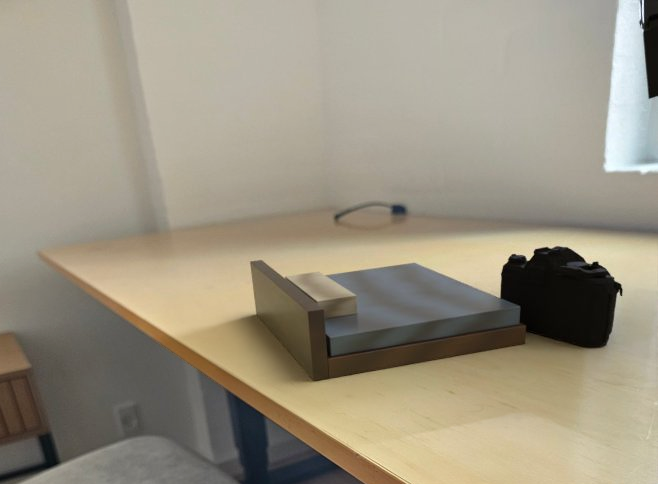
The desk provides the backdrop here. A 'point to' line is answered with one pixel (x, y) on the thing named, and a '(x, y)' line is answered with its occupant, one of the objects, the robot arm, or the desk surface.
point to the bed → (312, 333)
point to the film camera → (562, 295)
